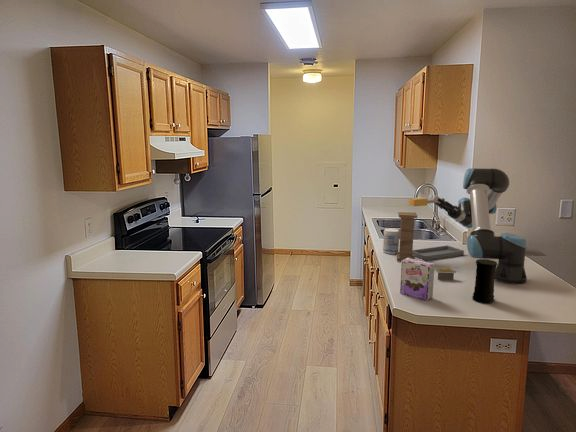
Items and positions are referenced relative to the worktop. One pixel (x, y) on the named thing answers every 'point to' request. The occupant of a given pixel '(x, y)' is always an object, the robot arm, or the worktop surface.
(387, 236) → the supplement tub
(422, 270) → the candy box
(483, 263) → the container
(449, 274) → the platform
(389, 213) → the worktop surface
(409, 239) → the brown wooden column
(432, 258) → the tray
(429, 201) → the screwdriver
